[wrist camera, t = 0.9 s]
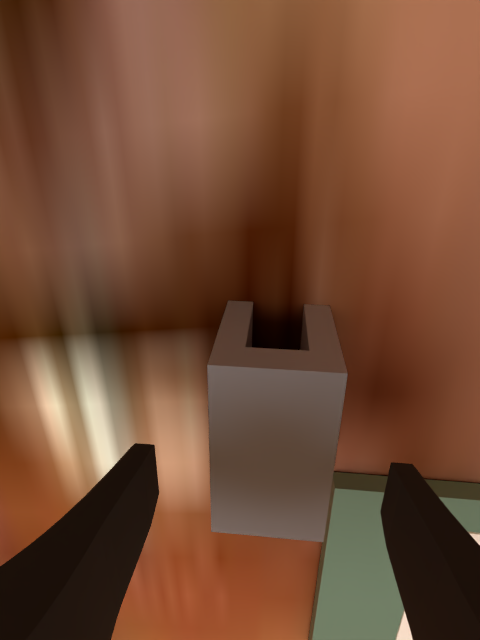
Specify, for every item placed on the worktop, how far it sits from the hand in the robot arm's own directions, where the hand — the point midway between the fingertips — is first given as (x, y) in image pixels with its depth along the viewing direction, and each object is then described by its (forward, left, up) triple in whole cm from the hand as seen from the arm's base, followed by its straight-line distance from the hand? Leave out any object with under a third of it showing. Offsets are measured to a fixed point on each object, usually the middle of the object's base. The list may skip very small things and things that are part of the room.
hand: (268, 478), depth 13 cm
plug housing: (0, 0, -6) cm, 6 cm away
